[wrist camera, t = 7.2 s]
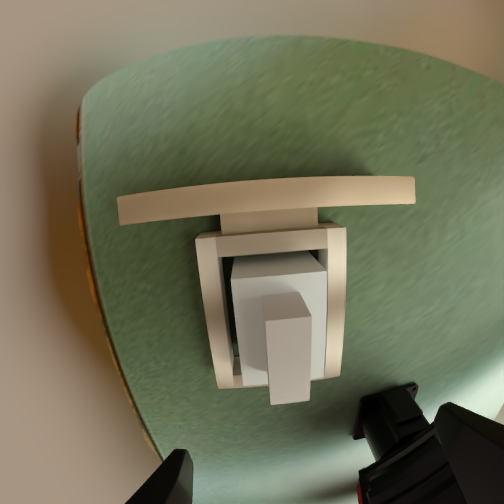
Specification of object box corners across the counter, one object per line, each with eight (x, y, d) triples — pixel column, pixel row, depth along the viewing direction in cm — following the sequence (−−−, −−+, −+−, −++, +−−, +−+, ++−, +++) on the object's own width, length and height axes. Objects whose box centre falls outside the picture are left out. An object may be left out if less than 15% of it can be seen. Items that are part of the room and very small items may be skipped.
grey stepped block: (308, 338, 21) (335, 408, 13) (243, 345, 21) (243, 419, 13) (307, 250, 19) (345, 290, 11) (234, 256, 19) (227, 302, 11)
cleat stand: (370, 351, 21) (394, 386, 16) (178, 370, 21) (165, 410, 16) (376, 178, 18) (414, 176, 13) (147, 194, 18) (116, 197, 13)
